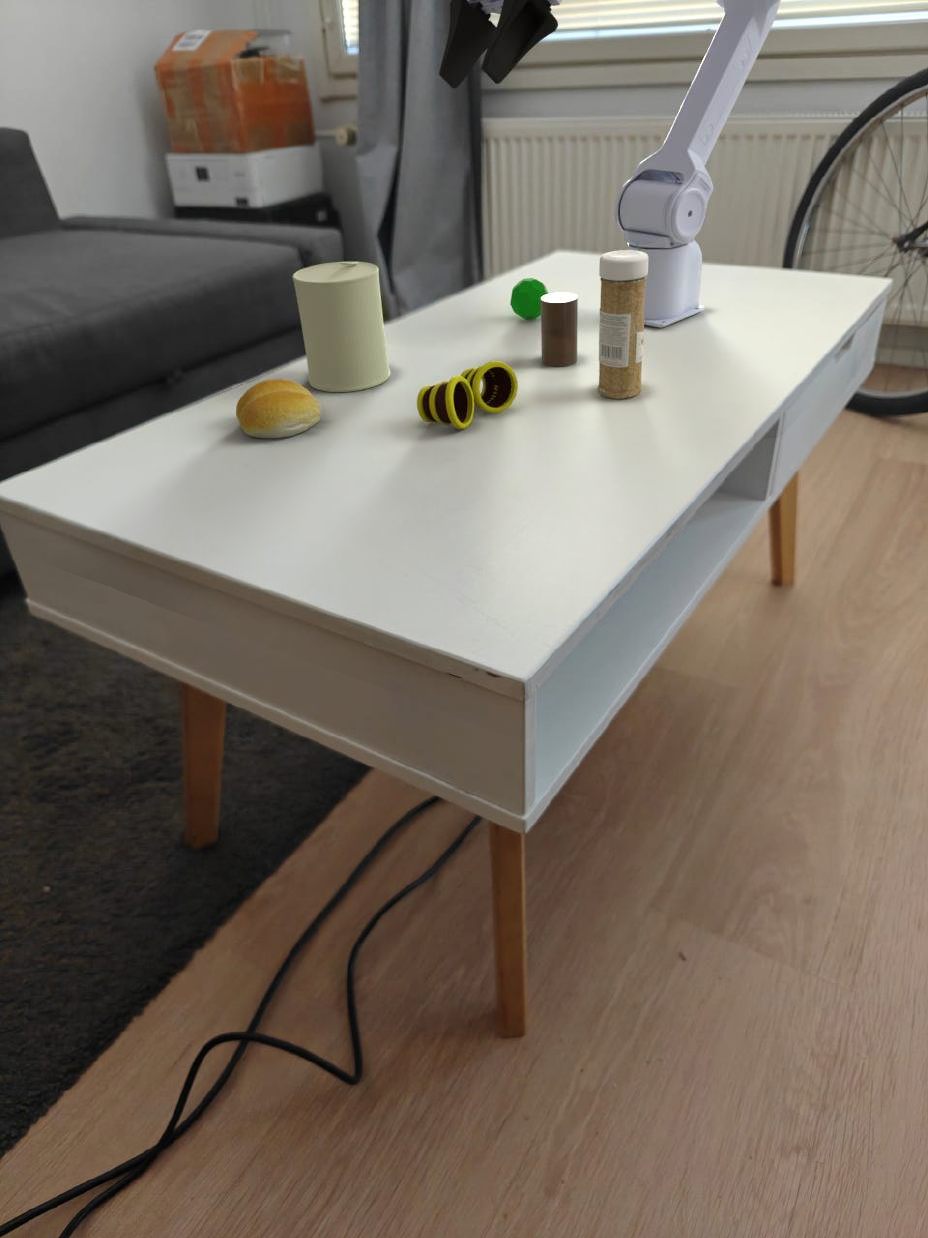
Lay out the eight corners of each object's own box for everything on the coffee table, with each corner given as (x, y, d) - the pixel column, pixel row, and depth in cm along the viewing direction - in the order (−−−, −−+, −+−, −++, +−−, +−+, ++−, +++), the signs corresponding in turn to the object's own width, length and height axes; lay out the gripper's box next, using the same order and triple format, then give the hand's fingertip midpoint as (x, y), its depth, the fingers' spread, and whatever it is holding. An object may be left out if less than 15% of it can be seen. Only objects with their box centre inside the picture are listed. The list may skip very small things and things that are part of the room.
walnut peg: (557, 353, 103) (557, 290, 99) (584, 359, 101) (585, 295, 97) (534, 362, 101) (533, 298, 97) (561, 369, 98) (561, 304, 95)
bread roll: (248, 447, 85) (239, 407, 83) (235, 417, 92) (226, 379, 90) (331, 431, 87) (325, 391, 85) (312, 402, 95) (306, 365, 92)
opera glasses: (485, 404, 93) (476, 356, 91) (522, 405, 89) (514, 355, 87) (419, 434, 88) (407, 383, 85) (456, 436, 84) (444, 383, 82)
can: (405, 368, 102) (394, 257, 95) (364, 395, 95) (349, 279, 89) (336, 361, 106) (321, 255, 99) (293, 388, 99) (273, 275, 92)
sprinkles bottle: (651, 392, 91) (659, 253, 83) (617, 403, 89) (622, 261, 81) (620, 381, 94) (625, 246, 87) (587, 391, 92) (589, 254, 85)
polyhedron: (503, 317, 117) (502, 279, 114) (535, 310, 119) (534, 272, 116) (524, 325, 113) (523, 286, 110) (556, 318, 115) (556, 279, 112)
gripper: (468, -77, 86) (400, 54, 87) (560, -111, 75) (481, 40, 76) (516, -21, 91) (451, 103, 92) (609, -44, 80) (533, 97, 81)
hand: (468, 78), depth 85 cm, fingers open, 7 cm apart
